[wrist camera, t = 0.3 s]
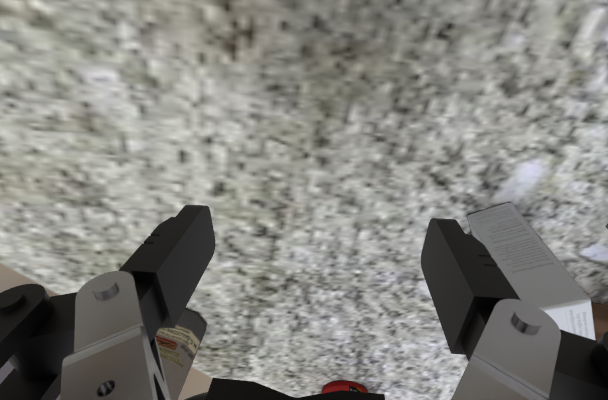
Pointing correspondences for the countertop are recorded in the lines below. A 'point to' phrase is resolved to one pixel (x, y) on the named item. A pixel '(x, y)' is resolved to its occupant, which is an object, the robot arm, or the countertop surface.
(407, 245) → the countertop surface
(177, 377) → the liquor
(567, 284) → the skincare box
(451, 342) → the robot arm
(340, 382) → the canned food
